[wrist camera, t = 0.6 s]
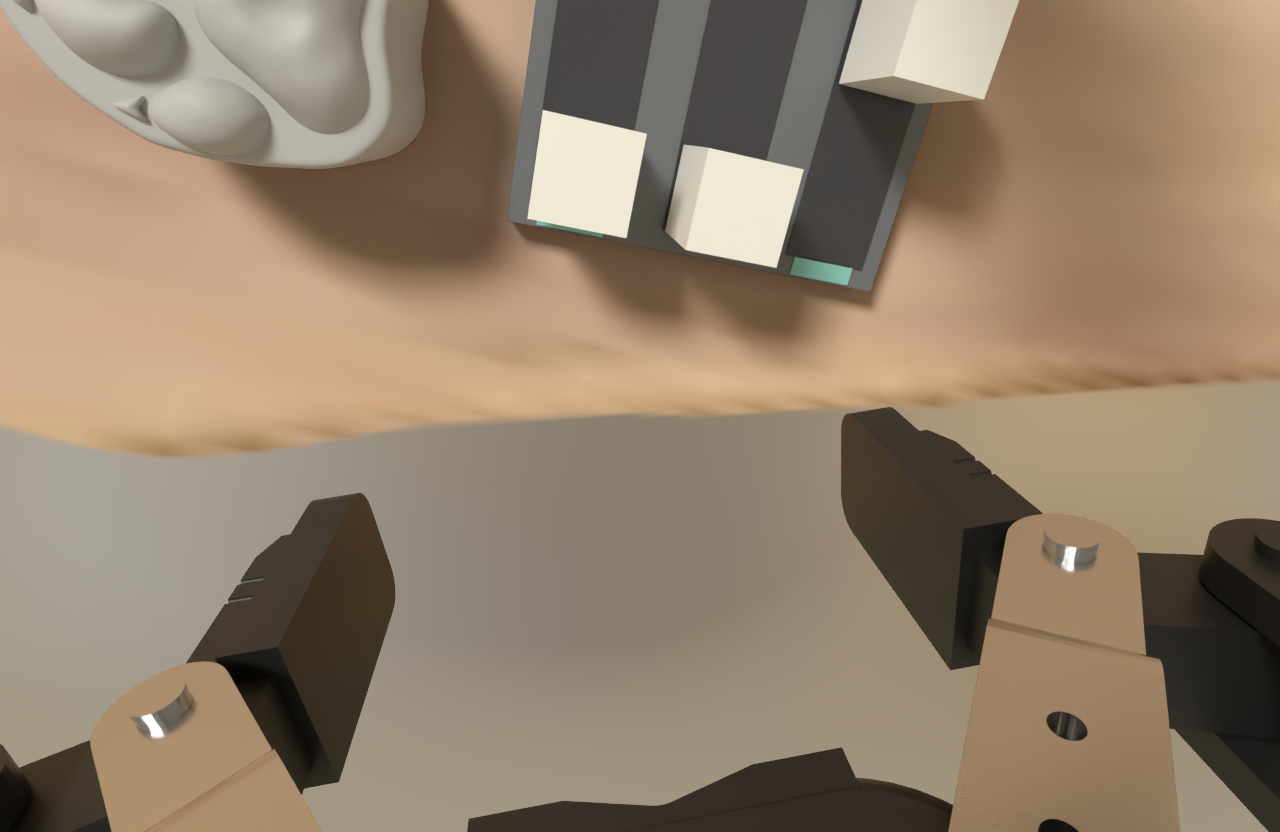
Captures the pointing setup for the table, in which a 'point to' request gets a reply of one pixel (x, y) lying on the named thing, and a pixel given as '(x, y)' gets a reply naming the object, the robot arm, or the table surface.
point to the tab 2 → (927, 48)
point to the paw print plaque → (242, 73)
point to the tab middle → (732, 205)
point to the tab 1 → (585, 174)
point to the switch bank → (729, 115)
